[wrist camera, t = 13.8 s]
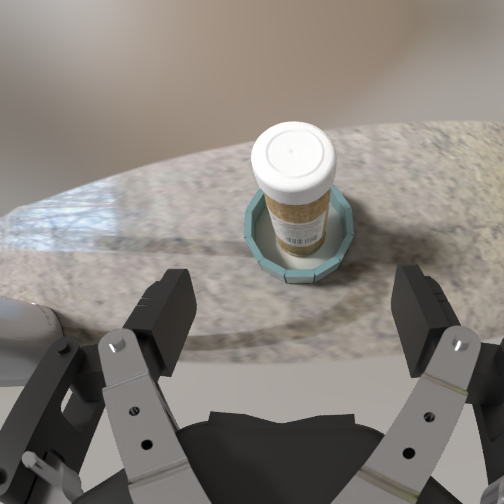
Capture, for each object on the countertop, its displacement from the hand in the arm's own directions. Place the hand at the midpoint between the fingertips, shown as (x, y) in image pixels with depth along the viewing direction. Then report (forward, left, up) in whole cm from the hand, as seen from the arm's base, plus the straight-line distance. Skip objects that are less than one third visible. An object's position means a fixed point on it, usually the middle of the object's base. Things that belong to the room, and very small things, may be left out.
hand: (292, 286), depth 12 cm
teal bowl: (+7, +4, -16) cm, 18 cm away
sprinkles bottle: (+6, +4, -16) cm, 17 cm away
